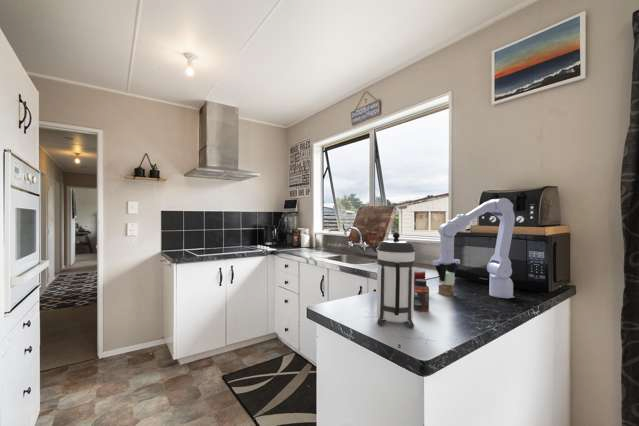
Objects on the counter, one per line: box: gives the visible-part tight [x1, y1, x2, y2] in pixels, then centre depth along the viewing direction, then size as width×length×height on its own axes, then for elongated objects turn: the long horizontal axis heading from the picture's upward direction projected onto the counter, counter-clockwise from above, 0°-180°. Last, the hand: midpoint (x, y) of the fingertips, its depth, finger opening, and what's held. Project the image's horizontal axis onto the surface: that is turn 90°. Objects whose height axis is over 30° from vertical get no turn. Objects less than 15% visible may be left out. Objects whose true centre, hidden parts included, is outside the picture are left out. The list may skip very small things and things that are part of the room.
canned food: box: [414, 268, 426, 285], centre depth 137 cm, size 8×8×11 cm
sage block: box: [438, 270, 456, 286], centre depth 135 cm, size 4×4×5 cm
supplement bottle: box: [413, 279, 430, 313], centre depth 115 cm, size 6×6×11 cm
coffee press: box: [376, 232, 417, 329], centre depth 100 cm, size 17×16×30 cm
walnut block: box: [438, 283, 455, 297], centre depth 135 cm, size 4×4×4 cm
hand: (446, 280), depth 135 cm, fingers closed on sage block, 4 cm apart
